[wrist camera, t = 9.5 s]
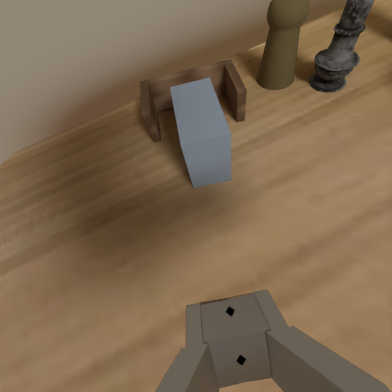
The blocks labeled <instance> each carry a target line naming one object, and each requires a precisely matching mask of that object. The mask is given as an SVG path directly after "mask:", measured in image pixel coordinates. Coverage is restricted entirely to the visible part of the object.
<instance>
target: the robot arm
mask: <svg viewBox="0 0 392 392" xmlns="http://www.w3.org/2000/svg"><path fill="white" fill-rule="evenodd" d="M268 378H272V379H273V380H274V381H275V383H276V384H277V385H278V386H279V387H280V388H281V389H282V390H283V391H284V392H391V391H390V390H389V389H388V387H387V386H386V385H385V384H384V383H382V382H380V381H379V380H377V379H376V378H374V377H373V376H371V375H369V374H368V373H366V372H365V371H363V370H362V369H360V368H358V367H357V366H355V365H354V364H352V363H351V362H349V361H347V360H346V359H344V358H343V357H341V356H339V355H338V354H336V353H335V352H333V351H332V350H330V349H328V348H327V347H325V346H324V345H322V344H321V343H319V342H317V341H316V340H314V339H313V338H311V337H310V336H308V335H306V334H305V333H303V332H302V331H300V330H299V329H297V328H295V327H294V326H291V327H288V325H287V323H286V321H285V320H284V318H283V316H282V314H281V313H280V311H279V309H278V307H277V305H276V304H275V302H274V300H273V298H272V297H271V295H270V293H269V291H268V290H266V289H265V290H261V291H256V292H253V293H248V294H243V295H238V296H234V297H229V298H224V299H218V300H212V301H206V302H201V303H197V304H191V305H187V306H186V347H185V348H181V349H180V351H179V353H178V354H177V356H176V358H175V359H174V361H173V363H172V364H171V366H170V368H169V369H168V371H167V373H166V374H165V376H164V378H163V379H162V381H161V383H160V384H159V386H158V388H157V389H156V391H155V392H219V388H222V387H227V386H231V385H235V384H239V383H244V382H249V381H255V380H262V379H268Z"/></svg>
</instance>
